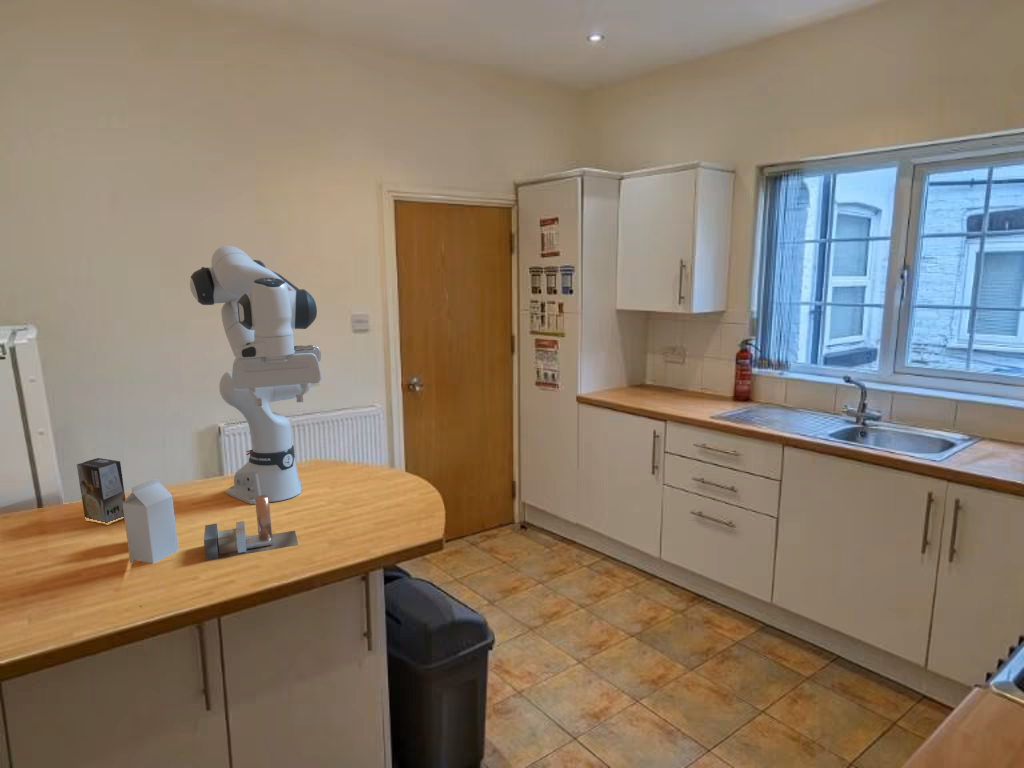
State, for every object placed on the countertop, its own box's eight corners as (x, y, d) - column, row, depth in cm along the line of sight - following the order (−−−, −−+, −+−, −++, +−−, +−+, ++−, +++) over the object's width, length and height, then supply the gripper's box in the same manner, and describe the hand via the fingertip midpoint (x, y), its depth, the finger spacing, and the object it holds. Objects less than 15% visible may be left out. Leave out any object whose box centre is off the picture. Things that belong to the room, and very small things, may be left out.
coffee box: (129, 517, 175) (122, 460, 171) (107, 526, 169) (99, 467, 166) (106, 512, 178) (98, 457, 175) (83, 521, 172) (75, 464, 169)
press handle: (238, 553, 148) (233, 507, 146) (237, 539, 156) (233, 495, 153) (273, 547, 151) (269, 502, 149) (271, 534, 158) (267, 491, 156)
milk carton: (179, 556, 151) (170, 479, 148) (153, 569, 145) (143, 489, 141) (156, 551, 153) (147, 476, 150) (130, 565, 147) (119, 486, 143)
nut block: (219, 553, 149) (217, 537, 148) (219, 546, 152) (218, 531, 151) (238, 550, 150) (236, 534, 149) (237, 543, 154) (236, 528, 153)
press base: (206, 566, 146) (203, 540, 144) (208, 550, 154) (205, 525, 152) (298, 550, 153) (296, 525, 152) (295, 536, 161) (293, 511, 160)
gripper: (318, 343, 160) (322, 397, 162) (229, 348, 152) (234, 405, 155) (321, 346, 154) (325, 402, 157) (228, 351, 146) (234, 410, 149)
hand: (279, 403), depth 156 cm, fingers open, 8 cm apart
